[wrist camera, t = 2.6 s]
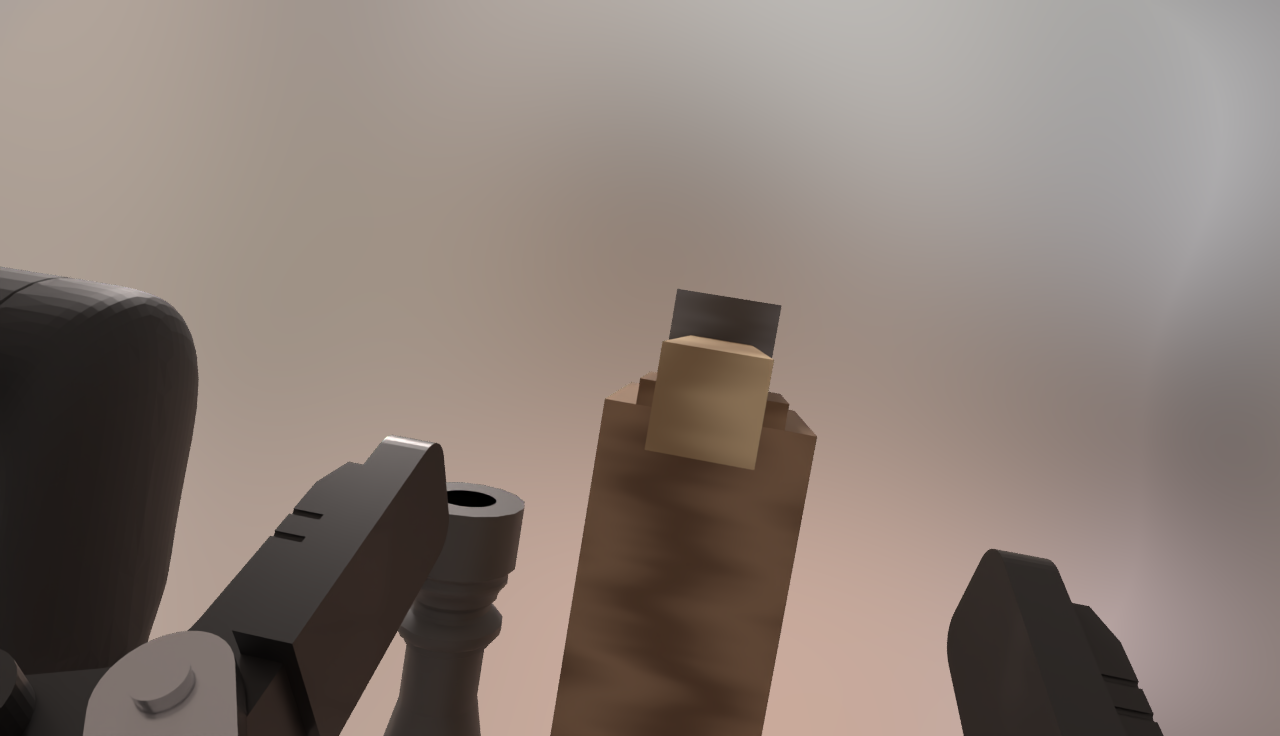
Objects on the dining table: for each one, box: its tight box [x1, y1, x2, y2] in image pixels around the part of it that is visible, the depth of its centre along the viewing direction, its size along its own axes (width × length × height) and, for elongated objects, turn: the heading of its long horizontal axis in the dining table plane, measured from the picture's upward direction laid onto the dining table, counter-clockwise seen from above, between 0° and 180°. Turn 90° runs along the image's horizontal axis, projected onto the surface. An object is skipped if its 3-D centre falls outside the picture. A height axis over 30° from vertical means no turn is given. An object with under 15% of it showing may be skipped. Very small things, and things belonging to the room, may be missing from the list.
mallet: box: [645, 289, 781, 470], centre depth 27 cm, size 5×19×5 cm, turn 173°
